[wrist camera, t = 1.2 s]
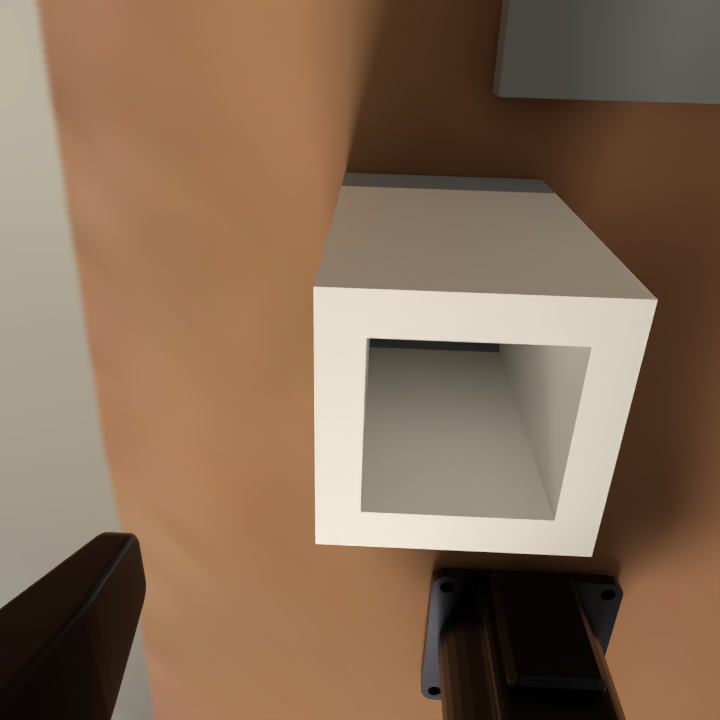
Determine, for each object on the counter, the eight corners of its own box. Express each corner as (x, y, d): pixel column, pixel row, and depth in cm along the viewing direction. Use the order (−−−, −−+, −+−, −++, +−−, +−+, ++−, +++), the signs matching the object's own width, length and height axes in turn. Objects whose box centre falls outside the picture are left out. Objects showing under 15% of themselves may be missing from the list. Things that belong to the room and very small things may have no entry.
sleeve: (515, 354, 19) (591, 556, 12) (342, 347, 19) (315, 543, 12) (542, 179, 17) (658, 299, 9) (345, 172, 17) (313, 286, 10)
